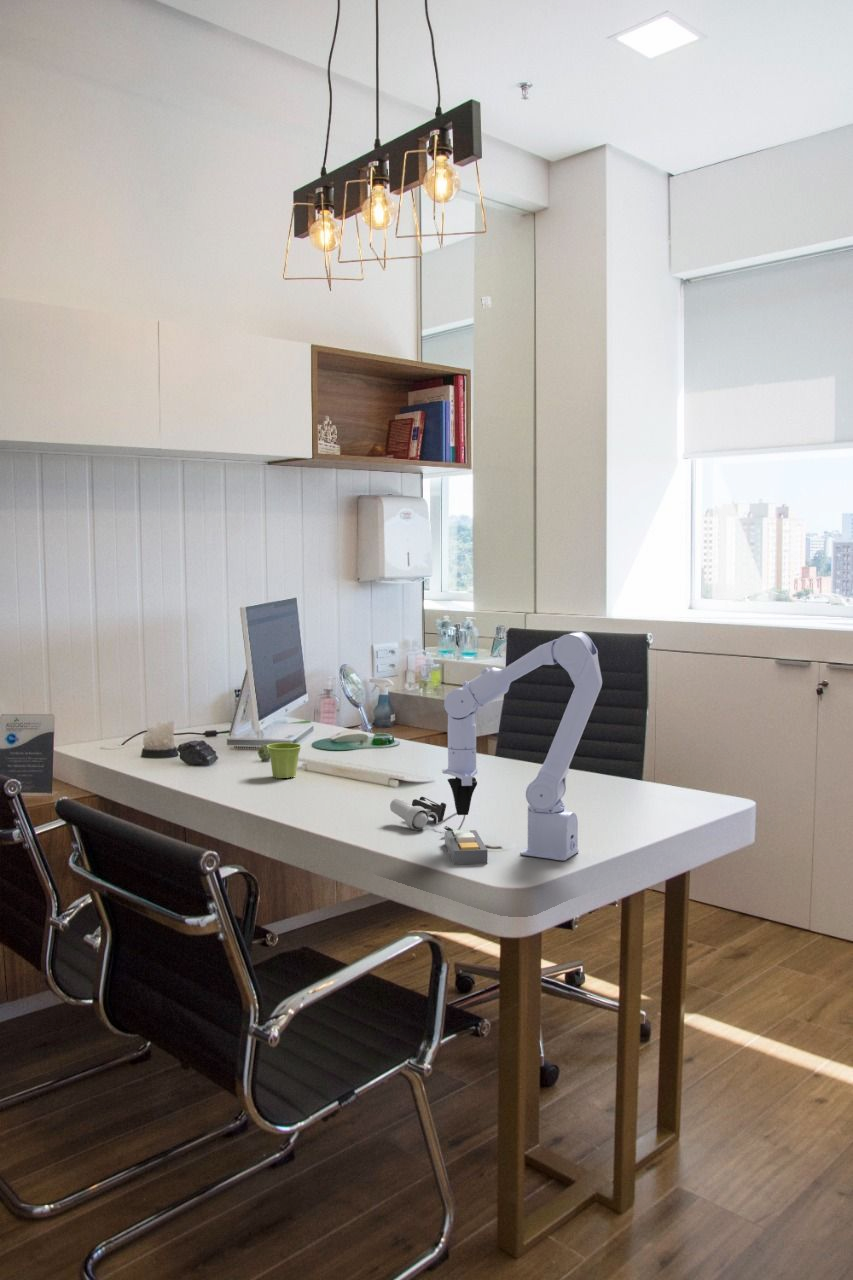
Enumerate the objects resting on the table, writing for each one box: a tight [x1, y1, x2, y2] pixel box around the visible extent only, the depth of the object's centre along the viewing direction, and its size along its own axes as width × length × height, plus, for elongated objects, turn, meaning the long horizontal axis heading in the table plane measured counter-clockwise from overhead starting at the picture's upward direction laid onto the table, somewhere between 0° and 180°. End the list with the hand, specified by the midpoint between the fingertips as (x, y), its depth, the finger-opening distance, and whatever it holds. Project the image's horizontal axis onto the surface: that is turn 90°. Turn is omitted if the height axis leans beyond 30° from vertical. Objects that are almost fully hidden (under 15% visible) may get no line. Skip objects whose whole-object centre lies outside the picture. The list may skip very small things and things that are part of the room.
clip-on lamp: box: [389, 796, 466, 831], centre depth 229 cm, size 12×6×18 cm
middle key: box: [456, 833, 475, 843], centre depth 208 cm, size 3×3×2 cm
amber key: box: [459, 842, 479, 850], centre depth 203 cm, size 3×3×2 cm
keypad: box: [444, 829, 488, 865], centre depth 208 cm, size 15×6×3 cm, turn 6°
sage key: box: [453, 829, 471, 837], centre depth 213 cm, size 3×3×2 cm
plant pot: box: [266, 742, 302, 779], centre depth 285 cm, size 9×9×9 cm
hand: (462, 814), depth 213 cm, fingers closed
